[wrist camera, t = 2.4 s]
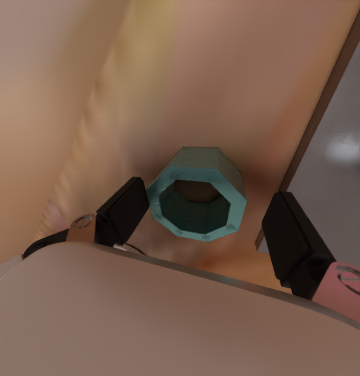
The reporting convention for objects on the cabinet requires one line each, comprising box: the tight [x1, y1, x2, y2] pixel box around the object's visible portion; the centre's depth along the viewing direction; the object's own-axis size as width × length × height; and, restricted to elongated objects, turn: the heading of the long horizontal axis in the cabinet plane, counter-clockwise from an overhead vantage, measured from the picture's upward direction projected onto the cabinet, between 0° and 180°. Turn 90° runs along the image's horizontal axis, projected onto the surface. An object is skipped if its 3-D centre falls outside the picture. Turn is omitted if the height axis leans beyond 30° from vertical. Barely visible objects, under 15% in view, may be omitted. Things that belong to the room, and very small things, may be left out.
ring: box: [146, 147, 248, 242], centre depth 12 cm, size 7×7×4 cm
